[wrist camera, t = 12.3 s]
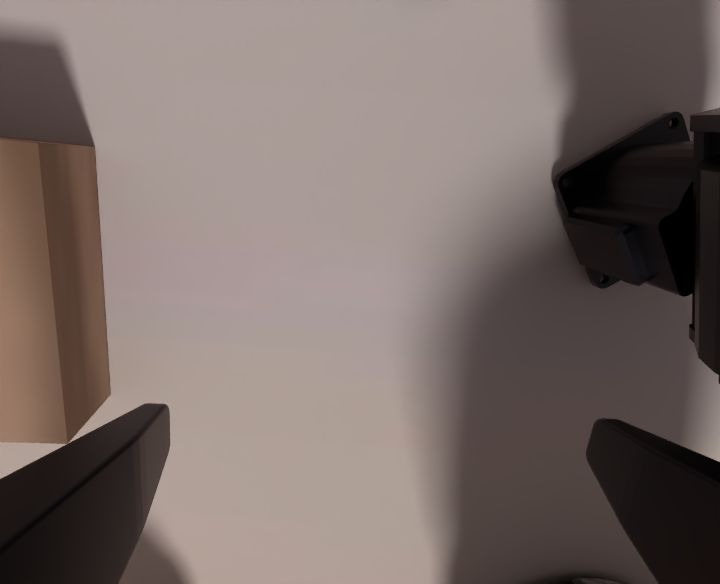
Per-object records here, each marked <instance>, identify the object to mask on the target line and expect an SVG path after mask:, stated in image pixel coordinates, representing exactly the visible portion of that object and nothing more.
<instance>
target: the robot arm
mask: <svg viewBox="0 0 720 584" xmlns="http://www.w3.org/2000/svg"><path fill="white" fill-rule="evenodd" d="M670 120H672V126H671V127H669V121H670ZM690 131H694V141H690V139H689V136H688V132H687V129H686V125H685V121H684V118H683V116H682V114H680V113H679V112H670V113H666V114H664V115H662V116H660V117H658V118H657V119H655V120H653V121H651V122H649V123H648V124H646V125H644V126H642V127H641V128H639V129H637V130H635V131H633V132H632V133H630V134H628V135H626V136H625V137H623V138H621V139H619V140H617V141H616V142H614V143H612V144H610V145H609V146H607V147H605V148H603V149H602V150H600V151H598V152H596V153H594V154H593V155H591V156H589V157H587V158H586V159H584V160H582V161H580V162H578V163H577V164H575V165H573V166H571V167H570V168H568V169H566V170H564V171H562V172H561V173H559V174H558V175H557V176H556V177H555V179H554V183H553V184H554V188H555V191H556V194H557V196H558V199H559V201H560V204H561V206H562V209H563V212H564V214H565V219H564V225H565V228H566V231H567V233H568V236H569V238H570V241H571V243H572V246H573V248H574V251H575V253H576V256H577V259H578V261H579V263H580V264H581V265H584V266H585V268H586V271H587V273H588V276H589V278H590V281H591V283H592V284H593V285H594V286H596V287H599V288H607V287H609V286H611V285H613V284H614V283H616V282H618V281H620V280H622V281H625V282H627V283H630V284H633V285H636V286H640V285H642V284H644V283H648V284H651V285H653V286H656V287H659V288H661V289H664V290H667V291H670V292H672V293H675V294H678V295H680V296H684V297H685V296H688V295H690V294H692V324H690V325H689V338H690V339H691V340H692V341H693V342H694V343H695V347H696V351H697V354H698V358H699V359H701V360H702V361H703V362H704V363H705V364H706V365H707V366H708V367H709V368H710V369H711V370H712V371H714V372H715V373H716V374H718V375H719V384H720V108H717V109H713V110H709V111H705V112H701V113H697V114H693V115H690ZM565 178H567V179H568V185H567V186H566V187H564V186H563V181H564V179H565ZM602 275H604V279H603V280H602V281H601V282H600V277H601V276H602ZM169 448H170V414H169V408H168V406H167V405H166V404H152V403H147V404H143V405H141V406H140V407H138V408H136V409H134V410H132V411H130V412H128V413H126V414H124V415H122V416H120V417H118V418H117V419H115V420H113V421H111V422H109V423H107V424H105V425H103V426H101V427H99V428H97V429H95V430H94V431H92V432H90V433H88V434H86V435H84V436H82V437H80V438H78V439H76V440H74V441H72V442H71V443H69V444H67V445H65V446H63V447H61V448H59V449H57V450H55V451H53V452H51V453H49V454H47V455H46V456H44V457H42V458H40V459H38V460H36V461H34V462H32V463H30V464H28V465H26V466H24V467H23V468H21V469H19V470H17V471H15V472H13V473H11V474H9V475H7V476H5V477H3V478H1V479H0V584H118V583H119V581H120V579H121V577H122V575H123V573H124V570H125V568H126V566H127V564H128V562H129V560H130V557H131V555H132V553H133V551H134V549H135V546H136V544H137V542H138V540H139V537H140V535H141V533H142V530H143V528H144V525H145V522H146V520H147V517H148V514H149V511H150V508H151V505H152V502H153V499H154V496H155V492H156V489H157V486H158V483H159V480H160V477H161V474H162V471H163V468H164V465H165V462H166V459H167V456H168V453H169ZM586 458H587V461H588V463H589V465H590V467H591V469H592V471H593V473H594V475H595V477H596V479H597V481H598V482H599V484H600V486H601V488H602V490H603V492H604V494H605V496H606V497H607V499H608V501H609V503H610V505H611V507H612V509H613V511H614V513H615V514H616V516H617V518H618V520H619V522H620V524H621V525H622V527H623V529H624V530H625V532H626V534H627V535H628V537H629V539H630V540H631V542H632V543H633V545H634V546H635V548H636V549H637V551H638V553H639V554H640V556H641V557H642V559H643V560H644V562H645V563H646V565H647V567H648V568H649V570H650V571H651V573H652V574H653V576H654V577H655V579H656V581H657V582H658V584H720V462H718V461H716V460H713V459H711V458H709V457H706V456H704V455H701V454H699V453H697V452H694V451H692V450H690V449H687V448H685V447H682V446H680V445H678V444H675V443H673V442H670V441H668V440H666V439H663V438H661V437H659V436H656V435H654V434H651V433H649V432H647V431H644V430H642V429H640V428H637V427H635V426H632V425H630V424H628V423H625V422H623V421H620V420H618V419H605V418H601V419H598V420H596V421H595V423H594V425H593V428H592V432H591V435H590V439H589V442H588V446H587V449H586Z"/></svg>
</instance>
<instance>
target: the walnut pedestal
mask: <svg viewBox="0 0 720 584" xmlns="http://www.w3.org/2000/svg"><path fill="white" fill-rule="evenodd" d="M110 395H111V394H110V378H109V363H108V347H107V332H106V316H105V300H104V285H103V269H102V254H101V238H100V223H99V207H98V191H97V176H96V160H95V147H91V146H81V145H72V144H63V143H53V142H44V141H34V140H25V139H15V138H6V137H0V442H18V443H57V444H68V443H69V442H70V440H71V439H72V438H73V437H74V436H75V435H76V434H77V432H78V431H79V430H80V429H81V428H82V427H83V426H84V424H85V423H86V422H87V421H88V420H89V419H90V418H91V416H92V415H93V414H94V413H95V412H96V411H97V410H98V408H99V407H100V406H101V405H102V404H103V403H104V402H105V400H106V399H107V398H108V397H109V396H110Z"/></svg>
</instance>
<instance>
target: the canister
mask: <svg viewBox="0 0 720 584" xmlns="http://www.w3.org/2000/svg"><path fill="white" fill-rule="evenodd" d="M573 583H574V584H620V583H618V582H615V581H610V580H605V579H600V578H576V579H573Z"/></svg>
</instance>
